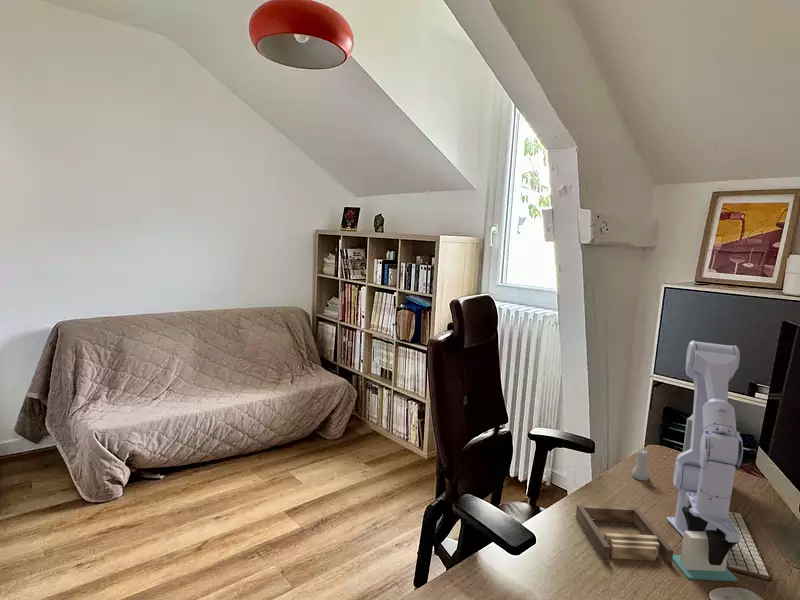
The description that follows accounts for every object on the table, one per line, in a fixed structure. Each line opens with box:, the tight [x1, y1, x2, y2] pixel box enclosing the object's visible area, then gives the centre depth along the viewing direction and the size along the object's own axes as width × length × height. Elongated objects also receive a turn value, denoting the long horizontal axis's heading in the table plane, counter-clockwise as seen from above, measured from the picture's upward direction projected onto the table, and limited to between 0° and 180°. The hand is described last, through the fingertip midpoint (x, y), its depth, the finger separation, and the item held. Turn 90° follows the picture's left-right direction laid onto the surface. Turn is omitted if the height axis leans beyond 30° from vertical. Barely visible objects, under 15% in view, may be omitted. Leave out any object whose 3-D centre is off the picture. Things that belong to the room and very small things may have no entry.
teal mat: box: [672, 554, 739, 583], centre depth 102 cm, size 10×7×1 cm
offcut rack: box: [575, 504, 675, 565], centre depth 111 cm, size 14×16×3 cm
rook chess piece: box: [631, 448, 650, 482], centre depth 141 cm, size 4×4×8 cm
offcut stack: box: [603, 532, 659, 562], centre depth 105 cm, size 11×3×4 cm, turn 90°
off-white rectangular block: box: [680, 531, 729, 571], centre depth 102 cm, size 8×2×7 cm, turn 91°
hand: (704, 553), depth 102 cm, fingers open, 6 cm apart
